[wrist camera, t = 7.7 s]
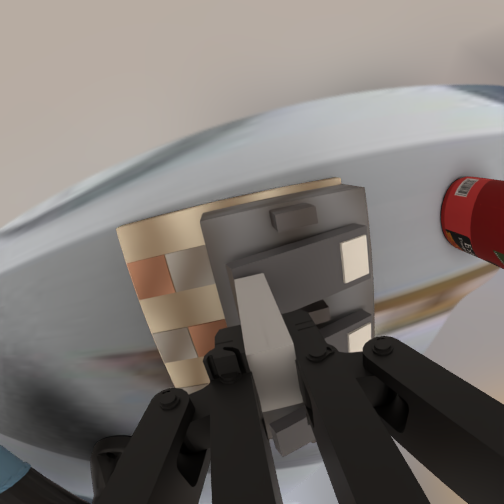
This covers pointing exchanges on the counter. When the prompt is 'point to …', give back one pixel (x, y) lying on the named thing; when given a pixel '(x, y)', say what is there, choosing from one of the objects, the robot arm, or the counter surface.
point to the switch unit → (215, 273)
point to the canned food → (475, 218)
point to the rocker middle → (349, 332)
